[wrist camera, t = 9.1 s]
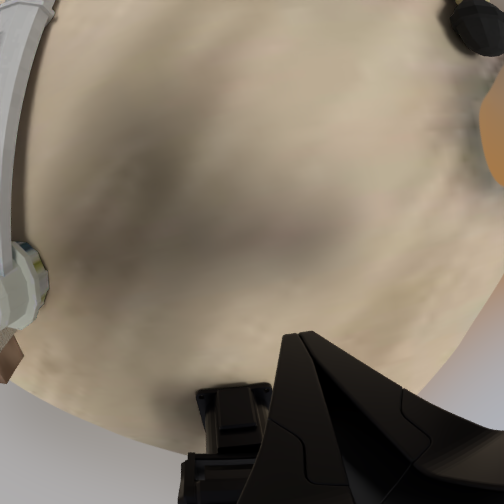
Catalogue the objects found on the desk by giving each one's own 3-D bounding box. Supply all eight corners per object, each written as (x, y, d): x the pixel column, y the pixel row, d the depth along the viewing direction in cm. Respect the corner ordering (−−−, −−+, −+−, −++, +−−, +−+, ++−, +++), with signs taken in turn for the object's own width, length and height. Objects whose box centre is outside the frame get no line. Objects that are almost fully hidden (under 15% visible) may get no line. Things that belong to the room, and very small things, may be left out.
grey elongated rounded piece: (61, -48, 8) (16, 363, 13) (90, -3, 14) (56, 318, 19) (0, -26, 7) (-38, 346, 12) (37, 9, 13) (7, 309, 19)
